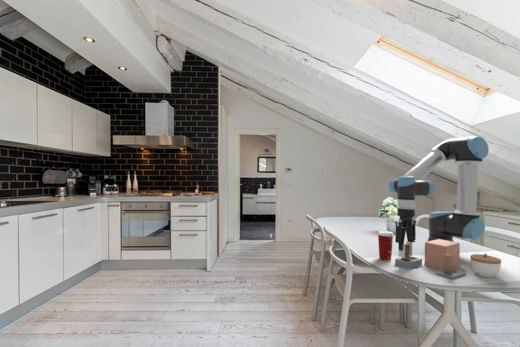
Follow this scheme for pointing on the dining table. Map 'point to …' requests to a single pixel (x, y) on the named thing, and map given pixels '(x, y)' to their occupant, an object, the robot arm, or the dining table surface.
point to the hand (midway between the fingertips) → (405, 256)
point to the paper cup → (385, 244)
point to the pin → (406, 252)
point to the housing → (441, 252)
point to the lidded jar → (485, 265)
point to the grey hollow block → (408, 262)
